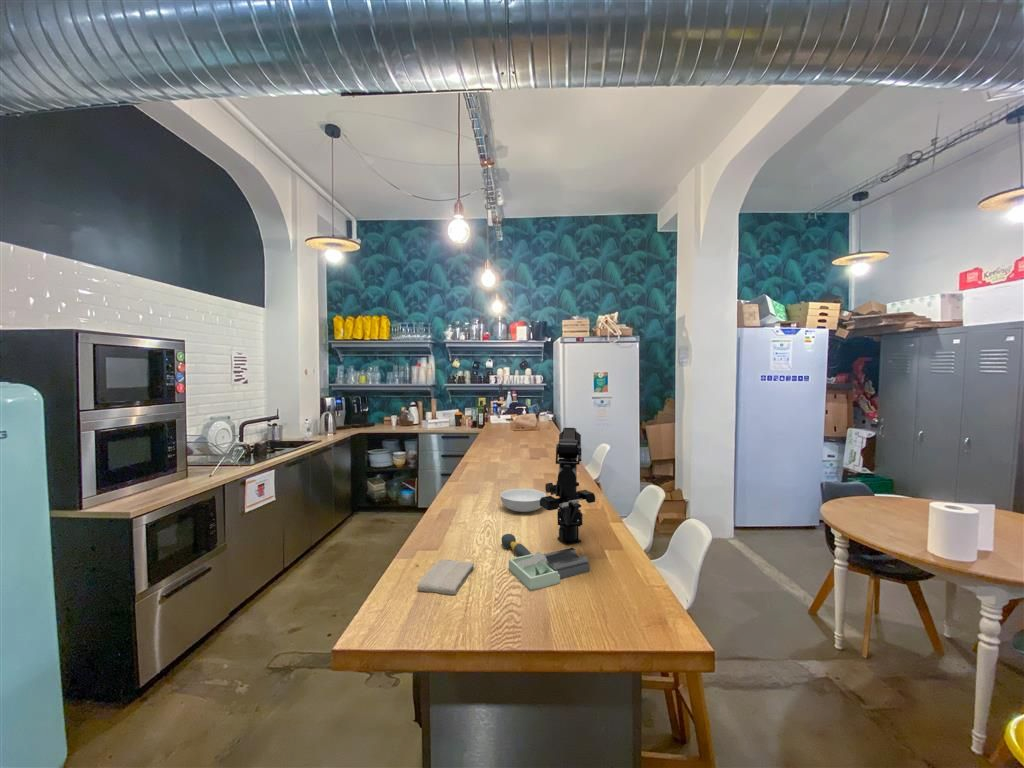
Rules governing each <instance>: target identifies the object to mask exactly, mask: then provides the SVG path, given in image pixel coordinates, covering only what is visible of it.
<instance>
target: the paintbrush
mask: <svg viewBox="0 0 1024 768" xmlns="http://www.w3.org/2000/svg"><path fill="white" fill-rule="evenodd" d="M516 541H517V539H516V537H515V536H514V534H513V533H506V534H503V535H502V536H501V545H502V546H503V547H504V548H505V549H512V551H513V553H514V554H515V555H516V556H517V557H521V556H525V555H530V554H532V553H531V551H529V549H528V548H527V547H526V546H525V545H523V544H522V543H519V542H516Z"/></svg>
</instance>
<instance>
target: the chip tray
mask: <svg viewBox="0 0 1024 768" xmlns="http://www.w3.org/2000/svg"><path fill="white" fill-rule="evenodd" d="M535 554H536V553H531V554H530V555H525V556H521V557H519V556H517V557H512V558H509V559H508V571H509V572H510V573H511V574H512V575H513V576H514V577H515V578H516V579H518V580H519V582H521V583H522V585H524V587H526V589H528V590H529V591H530V592H531V591H535V590H538V589H542V588H546V587H550V586H553V585H557V584H560V583H561V579H560V575H559V574H558V571H554V570H553V569H551V568H550V567H549V568H548V569H547V570H546V571H544V572H543V573H542V574H541V575H540V574H539V573H538V572H537V571H536V576H534V577H531V576H530V575H528V574H527V573H526V572H525V571H524V570H523V569H522V568H521V567H519V566H518V565H517V562H518V561H522V560H525V559H530V558H531V557H532V556H533V555H535Z"/></svg>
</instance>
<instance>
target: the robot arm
mask: <svg viewBox="0 0 1024 768" xmlns="http://www.w3.org/2000/svg"><path fill="white" fill-rule="evenodd" d="M581 435H582V434H580V432H578V431H577V428H575V427H563V428H562V431H561V433H559V434H558V443H557V444H556V446H555V447H556V448H555V465H559V466H558V468H559V469H558V473H557V481H556V484H553V482H547V483H545V486H544V487H545V488H544V489H545V492H546V494H549V493H550V495H548V496H547V495H546V497H542V498H541V499H540V506H541V508H543V509H544V510H547V511H555V510H557V514H556V515H557V526H559V528H558V537H557V540H559V541H560V542H561V543H564V544H565V545H568V546H569V545H572V544H576V543H581V542H582V539H580V538H579V535H580V534H579V533H580V532H579V530H580V529H579V527H581V526H583V513H582V511H581V509H580V508H582V504H580V501H582V500H585V502H586V503H588V504H591V503H595V502H596V495H595V493H594V492H592V491H589V490H587V489H582V490H578V489H577V487H580V482H578V478H577V475H578V473H577V472H578V470H577V469H578V468H577V467H578V465H580V463H581V462H582V436H581ZM554 496H555V497H556V498H555V497H554Z"/></svg>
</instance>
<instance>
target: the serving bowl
mask: <svg viewBox="0 0 1024 768" xmlns="http://www.w3.org/2000/svg"><path fill="white" fill-rule="evenodd" d="M546 496H547V493H545V492H544V491H542V490H538V489H533V488H511V489H506V490H504V491H502V492H501V493H500V499H501V503H502V504H503V505H504V507H505V508H507V509H509V510H511V511H515V512H519V513H530V512H533V511H536V510H539V509H540V508H542V507H541V506H540V499H541V498H542V497H546Z"/></svg>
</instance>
